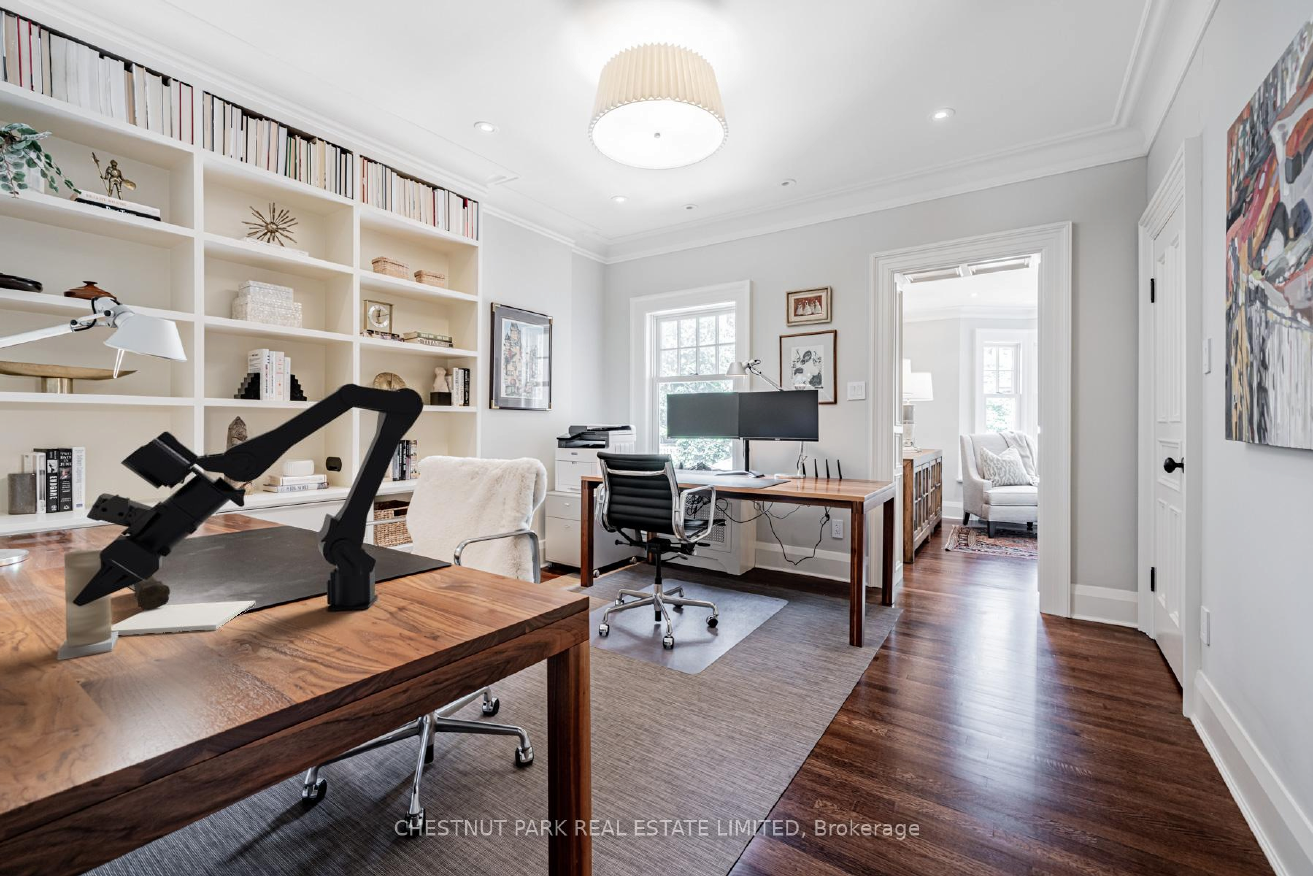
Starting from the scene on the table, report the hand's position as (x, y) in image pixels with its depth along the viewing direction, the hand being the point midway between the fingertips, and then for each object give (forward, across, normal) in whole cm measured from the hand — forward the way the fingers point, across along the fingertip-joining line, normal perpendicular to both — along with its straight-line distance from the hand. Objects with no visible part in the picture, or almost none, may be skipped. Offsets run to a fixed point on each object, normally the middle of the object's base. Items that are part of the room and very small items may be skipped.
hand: (83, 595), depth 78 cm
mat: (-2, -8, +12) cm, 15 cm away
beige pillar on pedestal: (+5, 0, +6) cm, 8 cm away
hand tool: (+2, -23, +8) cm, 24 cm away
